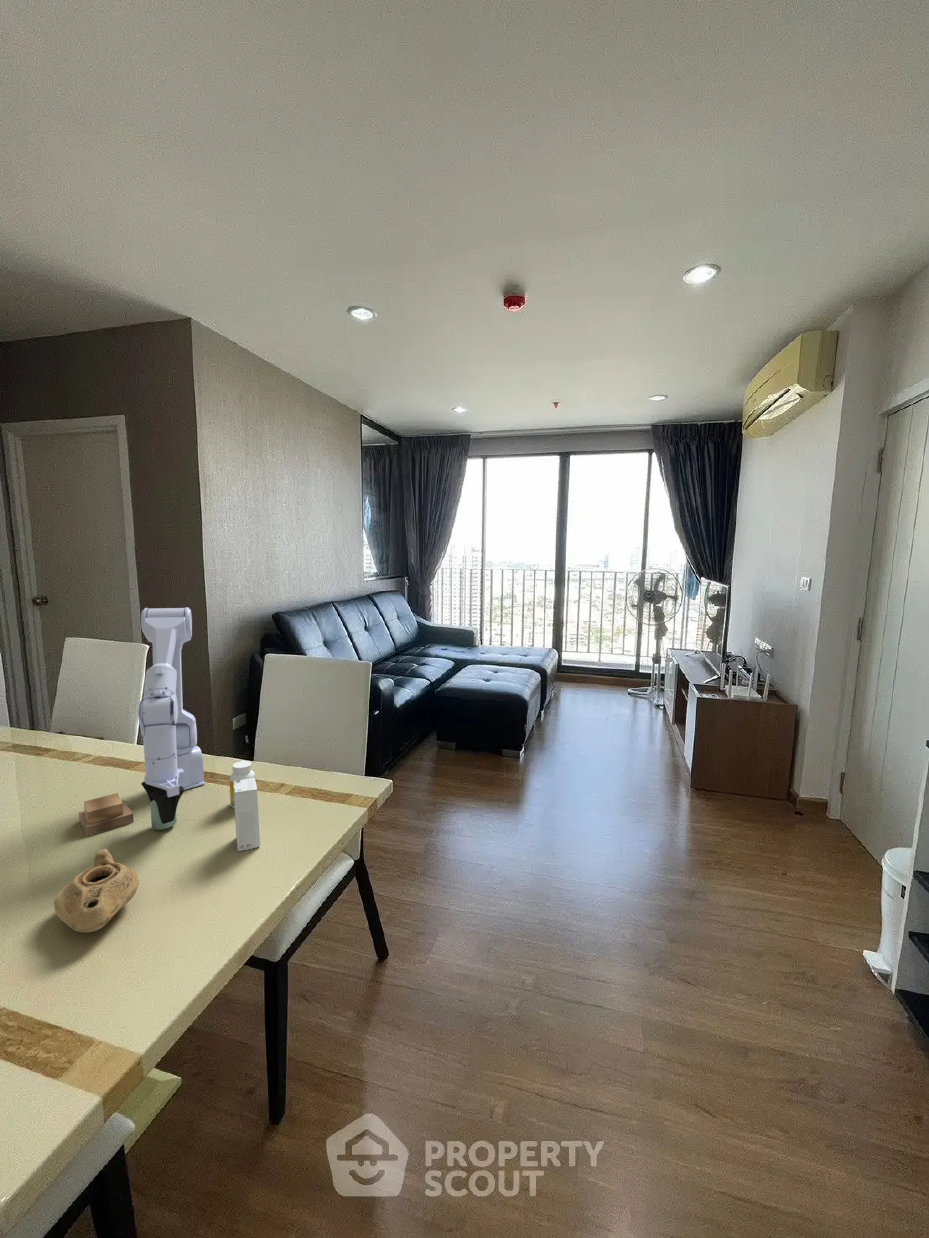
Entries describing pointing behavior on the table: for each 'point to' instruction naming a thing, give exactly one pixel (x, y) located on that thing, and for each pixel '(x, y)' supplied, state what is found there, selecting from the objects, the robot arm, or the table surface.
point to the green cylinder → (156, 818)
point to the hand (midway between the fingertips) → (163, 817)
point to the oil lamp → (96, 894)
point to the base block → (106, 821)
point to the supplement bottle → (240, 775)
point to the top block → (103, 808)
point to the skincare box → (246, 814)
